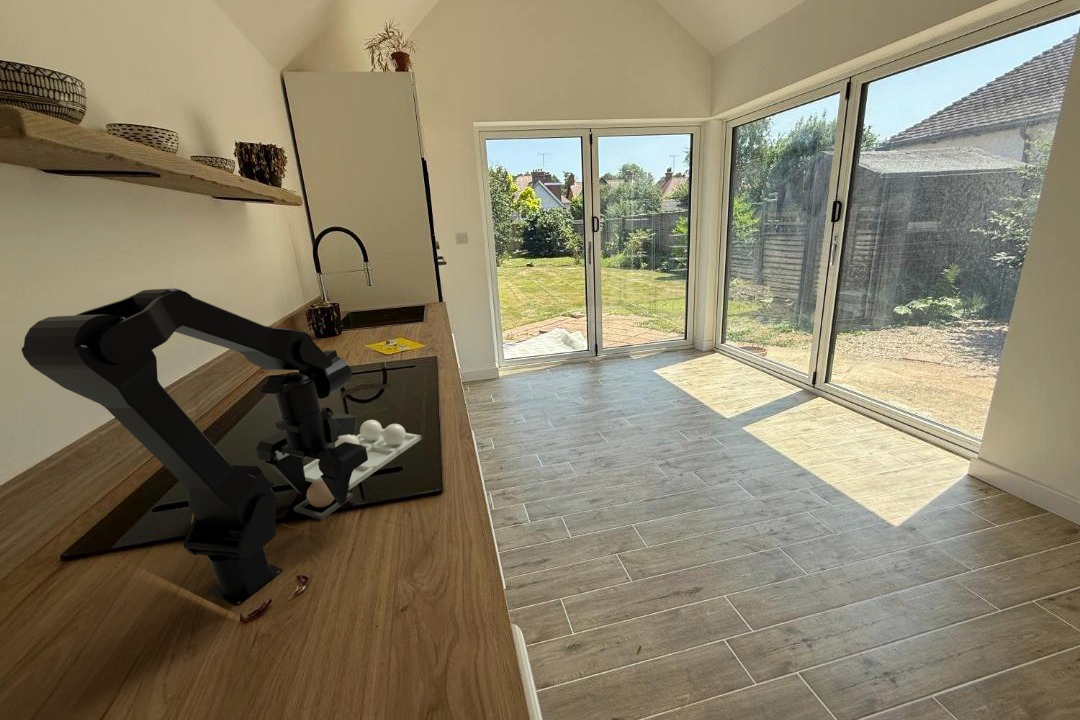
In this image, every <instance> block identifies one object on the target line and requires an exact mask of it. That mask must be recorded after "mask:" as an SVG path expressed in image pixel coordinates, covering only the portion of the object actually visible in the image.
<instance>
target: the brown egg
mask: <svg viewBox="0 0 1080 720" xmlns="http://www.w3.org/2000/svg"><path fill="white" fill-rule="evenodd" d="M306 499H307V500H308V502H309V503H310V504H309V505H311V506H312V507H315V508H326V507H327V506H330V504H332V503H333V502H334V501H335V499H334V497H333V495H332V494H331V492H330V491H329V489H328V488H327V486H326V485H325V483H324V481H323V480H318V481H315V482H314V483H312V482H311V484H310V485H309V486H308V488H307V489H306Z"/></svg>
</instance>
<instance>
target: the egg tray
mask: <svg viewBox="0 0 1080 720" xmlns="http://www.w3.org/2000/svg"><path fill="white" fill-rule="evenodd" d="M384 430H385V428H382V433H381V435H380V437H379V438H378V439H376V440H374V441H367V440H365V439H363V438H362V436H361V435H360V433H358V434H357V435H355V436H356V437H357V438H358V440H359V445H362V446H364V447H366V450H367V455H368V460H367V461H366V462H364V463H363V464H361V465H360V466H359V467H357V468H356V469H354V470H353V472H352V475H351V478H350V482H349V488H348V491H350V490H352V488H355V486H357V485H358V484H360V483H361V482H362V481H364V480H366V479H367V478H368V477H369V476H371V475H372V474H374V473H375V472H377V471H379V470H380V469H381V468H382V467H384V466H385V465H387V464H388V463H390V462H391V461H392V460H394V459H395V458H397V457H398V456H399V455H401V454H402V453H404V452H405V451H407V450H408V449H410V448H411V447H413V446H414V445H415V444H417V443H418V442H419V441H421V440H422V435H421V434H414V433H409V432H406V436H405V439H404V441H403V442H402V443H401V444H399V445H395V446H393V445H389V444H387V443H386V442H385V440H384V438H383V432H384ZM318 463H319V459H314V460H312V461H311V462H309V463H308V464H306V465H303V467H304V473H305V479H306V482H309V483H311V484H312V483H314V482H315V481H318V480H322V478H321V475H323V473H322V472H321V471H320V470H319V465H318Z"/></svg>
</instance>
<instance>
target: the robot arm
mask: <svg viewBox="0 0 1080 720" xmlns="http://www.w3.org/2000/svg"><path fill="white" fill-rule="evenodd" d="M174 333H176V334H177V333H178V334H181V335H184V336H188V337H191V338H193V339H196V340H200V341H203V342H206V343H210V344H213V345H216V346H220V347H222V348H226V349H229V350H232V351H234V352H238V353H240V354H242V355H243V356H244V357H245V358H246V359H247V361H248V362H249V363H251V364H253V365H255V366H257V367H259V368H261V369H263V370H266V371H291V372H287V373H285V374H283V375H269V376H268V379H267V381H266V382H265V383H264V384H263V386H262V387H261V389H260V391H259V392H260V393H261V395H274V399H275V402H276V406H277V409H278V412H279V417H280V420H278V421H276V422H275V426H276V429H277V430H281V431H278V432H276V433H273V434H271V435H270V436H268V437H266V438H264V439H261V440H260V441H259V442H258V444H257V446H256V448H255V450H256V454H257V458H258V460H262V461H264V463H265V465H268V466H269V467H270V468H272V470H273V471H275V472H276V473H277V474H278V475H279V476H280V477H281V478H282V479H284V480H285V481H286V482H287V483H288V484H289V485H290V486H291V488H293V489H294V490H295V491H296V492H297V493H299V494H300V495H303V494H304V493H307V481H306V479H305V473H304V462H303V459H307V458H311V459H314V460H316V459H319V463H318V465H319V470H320V471H321V472H322V473H323V475H321V478H322V480H323V481H324V483H325V485H326V486H327V488H328V489H329V491H330V492H331V494H332V495H333V497H334V501H335V502H336V503H338V504H339V505H342V504H343V505H344V504H346V503H347V502H346V499H347V493H349V490H348V488H349V482H350V478H351V475H352V472H353V470H354V469H356V468H357V467H359V466H360V465H361V464H363V463H364V462H366V461H367V460H368V455H367V450H366V447H364V446H362V445H358V444H353V443H348V442H344V443H342V444H340V445H338V446H337V447H335V446H334V447H331V446H329V444H335V443H336V441H338V440H339V439H338V437H339V436H342V435H349V434H350V435H355V436H356V434H357V422H358V416H357V415H353V414H348V413H341V412H334V411H333V409H332V408H331V407H326V406H321V401H320V400H323V399H326V398H327V397H329V396H331V395H332V394H334V393H336V392H337V391H339V390H340V389H342V388H344V387H345V386H346V385H348V384H349V383H350V382H351V380H352V377H353V376H352V374H353V372H352V368H351V367H350V366H349V363H347V361H346V360H345V359H343V358H342V357H339V356H338V352H337V350H335V349H330V350H328V349H327V350H326V349H325V350H322V349H321V348H320V347H319V346H318V345H317V344H316V343H315V342H314V338H313V337H312V335H311V334H310V333H308V332H306V331H303V330H297V329H292V328H283V327H273V326H268V325H264V324H261V323H258V322H256V321H253V320H251V319H249V318H246V317H243V316H240V315H238V314H237V313H233V312H230V311H228V310H225V309H224V308H221V307H219V306H216V305H213V304H211V303H208V302H206V301H205V300H201V299H199V298H197V297H194V296H192V295H191V294H190V293H188V292H187V291H184V290H182V289H179V288H157V289H156V288H155V289H153V288H152V289H142V290H140V291H139V292H137V293H135V294H132V295H131V296H128V297H126V298H123V299H121V300H118V301H115V302H114V301H113V302H110V303H107V304H105V305H102V306H101V305H100V306H98V307H95V308H91V309H88V310H84V311H83V312H79V313H77V314H74V315H58V316H57V315H56V316H48V317H45V318H44V319H40V320H38V321H37V322H36V323H35V324H33V325H32V326H31V327H30V328H29V329H28V330H27V333H26V334H25V336H24V343H23V347H22V348H21V352H22V355H23V358H24V359H25V360H26V362H28V364H29V365H30V367H32V368H33V369H35V370H36V371H38V373H40V374H42V375H44V376H45V377H47V378H49V380H51V381H53V382H54V383H55V384H57V385H59V386H60V387H62V388H64V389H66V390H68V391H70V392H72V393H75V394H77V395H79V396H82V397H83V398H86V399H88V400H90V401H92V402H95V403H97V404H99V405H101V406H102V407H104V408H105V409H106V410H107V411H108V412H109V413H110V414H111V415H112V416H114V418H115V419H116V420H118V422H119V423H120V424H122V426H123V427H124V428H125V429H126V430H128V432H129V433H130V434H131V435H133V437H134V438H135V439H137V440H138V441H139V442H140V444H141V445H142V446H143V447H145V448H146V449H147V451H149V452H150V453H151V454H152V455H153V456H154V457H155V458H156V459H157V461H159V462H160V463H161V464H162V465H163V466H164V467H165V468H166V469H167V470H168V471H169V473H171V474H172V475H173V476H174V477H175V478H176V479H177V480H178V481H179V482H180V483H181V484H182V485H183V486H184V487H185V488H186V489H187V491H188V507H189V509H190V510H191V512H192V514H193V513H194V515H195V517H194V520H193V522H192V525H190V527H189V530H188V532H187V535H186V537H185V540H184V542H183V545H182V547H183V549H185V550H186V551H187V552H188V553H189V554H190V555H192V556H196V555H201V556H207V557H208V560H209V563H210V566H211V568H212V572H213V574H214V577H215V579H216V582H217V583H216V584H215V585H213V586H212V587H210V588H209V589H208V590H207V593H208V594H209V595H212V596H214V597H215V598H218V599H220V600H222V601H224V602H226V603H228V604H230V605H233V606H234V607H235V606H236V607H238V606H240V605H242V604H243V603H244V602H246V601H247V600H248V599H250V598H251V597H252V596H254V595H255V594H256V593H257V592H259V591H260V590H261V589H263V588H265V586H267V585H268V584H269V583H271V582H272V581H273V580H274V579H275V578H276V577H277V578H278V577H279V575H281V574H282V573H283V571H284V569H283V568H281V567H278V566H276V565H273V564H270V563H269V561H268V557H267V554H266V551H265V548H264V547H265V546H266V545H267V544H268V543H270V541H271V540H273V538H275V537H276V525H277V522H276V518H277V517H276V516H277V515H276V514H277V512H276V511H277V509H276V508H277V503H276V501H277V496H276V493H275V491H274V490H273V489H272V487H274V486H275V483H274V482H272V481H269V480H268V478H267V477H266V476H265V474H264V472H263V470H262V469H261V468H260V467H259V466H257V465H251V464H250V465H246V464H230V463H229V461H228V460H227V459H226V458H225V457H224V456H223V454H222V453H221V452H220V451H219V450H218V449H217V447H215V445H214V444H213V443H212V442H211V441H210V439H209V438H208V437H207V436H206V435H205V434H204V432H203V431H201V429H200V428H199V427H198V426H197V424H196V423H195V422H194V421H193V420H192V419H191V418H190V417H189V415H188V414H187V413H186V412H185V411H184V410H183V409H182V407H181V406H180V405H179V404H178V403H177V402H176V401H175V399H174V398H173V397H172V396H171V394H169V393H168V391H167V390H166V388H164V387H163V385H161V383H160V382H159V379H158V363H157V356H156V353H155V352H154V351H153V350H154V349H156V348H158V347H159V346H161V345H163V344H165V343H166V342H167V341H168V340H169V339H170V338H171V337H172V336H173V334H174ZM297 371H298V372H297ZM345 502H346V503H345ZM343 505H342V506H343ZM238 602H239V603H238Z"/></svg>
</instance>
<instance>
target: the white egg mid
mask: <svg viewBox="0 0 1080 720" xmlns="http://www.w3.org/2000/svg"><path fill="white" fill-rule="evenodd" d="M356 436H357V435H356V434H355V435H350V434H349V435H342V436H338V439H339V440H338V441H336V442H334V448H335V447H337V446H338V445H340V444H342V443H344V442H348V443H353V444H358V445H359V440H358V438H357V437H356Z"/></svg>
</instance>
